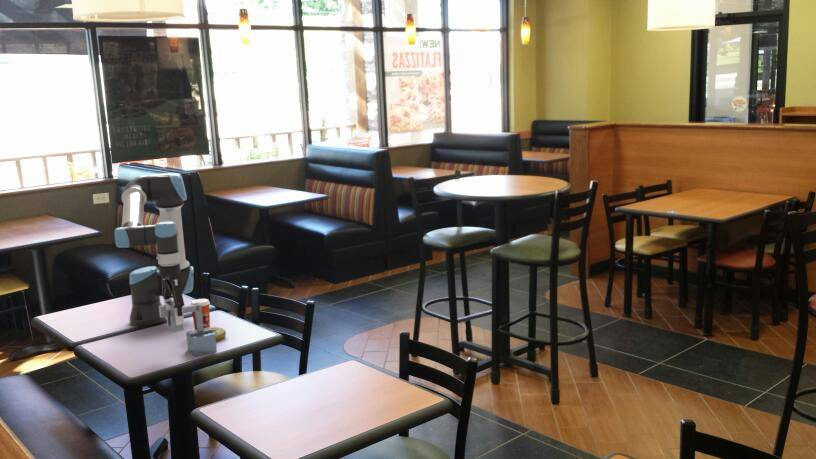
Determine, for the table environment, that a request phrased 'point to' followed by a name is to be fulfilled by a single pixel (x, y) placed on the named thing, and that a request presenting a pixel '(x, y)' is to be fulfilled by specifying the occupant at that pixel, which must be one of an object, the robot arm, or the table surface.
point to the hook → (172, 317)
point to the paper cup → (205, 312)
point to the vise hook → (196, 332)
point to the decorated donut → (219, 333)
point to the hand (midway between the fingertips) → (174, 320)
